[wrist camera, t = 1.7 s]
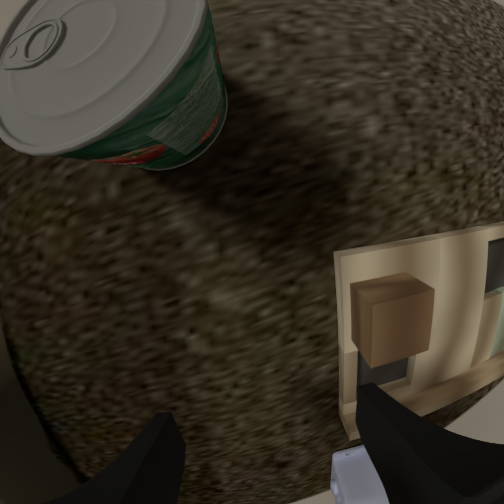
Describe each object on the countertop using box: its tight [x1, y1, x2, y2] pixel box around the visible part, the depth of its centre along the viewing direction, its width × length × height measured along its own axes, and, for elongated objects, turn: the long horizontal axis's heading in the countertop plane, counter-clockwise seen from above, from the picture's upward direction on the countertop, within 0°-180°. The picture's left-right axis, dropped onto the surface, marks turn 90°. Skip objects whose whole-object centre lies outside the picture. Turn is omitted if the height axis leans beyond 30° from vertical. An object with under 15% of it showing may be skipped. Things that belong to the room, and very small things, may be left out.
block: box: [350, 272, 435, 368], centre depth 16 cm, size 4×4×4 cm
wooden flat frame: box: [333, 221, 504, 441], centre depth 18 cm, size 22×14×3 cm, turn 99°
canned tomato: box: [0, 0, 228, 170], centre depth 11 cm, size 8×8×11 cm
